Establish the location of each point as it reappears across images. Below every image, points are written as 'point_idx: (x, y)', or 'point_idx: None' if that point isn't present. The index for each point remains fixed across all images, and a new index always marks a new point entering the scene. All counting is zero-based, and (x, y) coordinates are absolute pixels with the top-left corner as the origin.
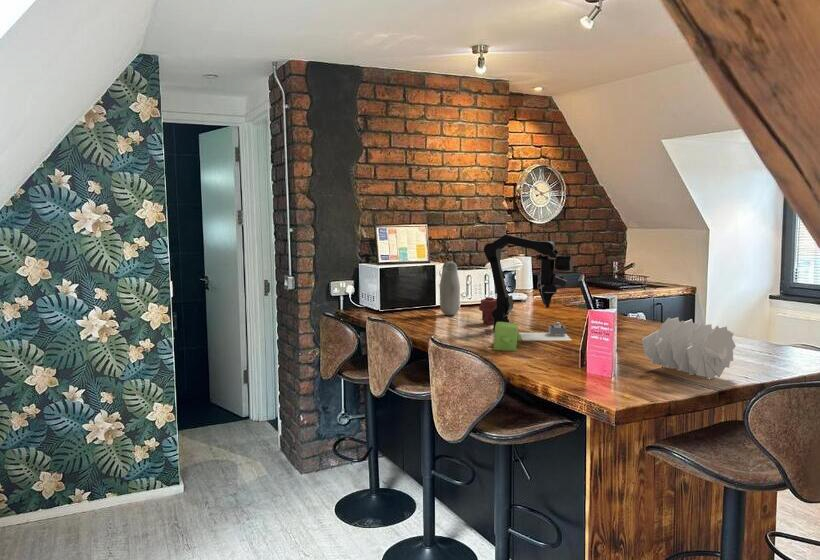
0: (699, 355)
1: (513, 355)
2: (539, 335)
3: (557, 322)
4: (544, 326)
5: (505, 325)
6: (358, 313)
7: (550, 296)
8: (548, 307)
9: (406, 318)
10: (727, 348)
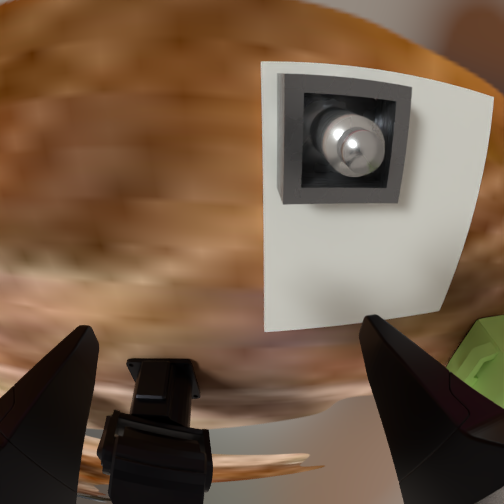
0: None
1: None
2: (355, 242)
3: (367, 153)
4: (5, 194)
5: None
6: (78, 489)
7: (488, 424)
8: (377, 318)
9: (84, 472)
10: None
